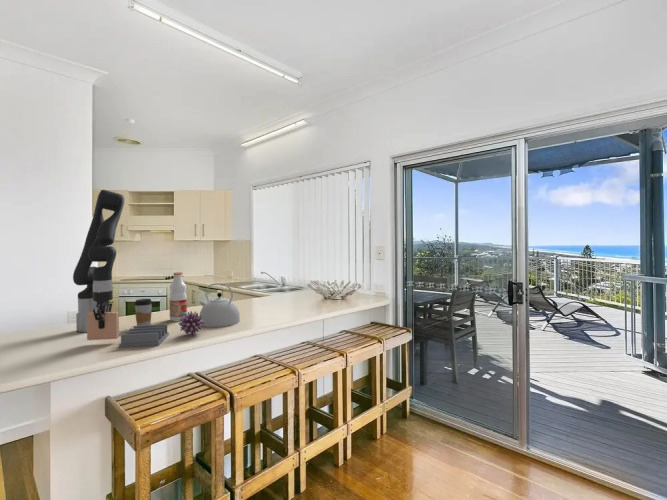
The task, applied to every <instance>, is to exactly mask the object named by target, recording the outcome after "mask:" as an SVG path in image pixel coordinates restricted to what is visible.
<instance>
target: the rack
mask: <svg viewBox="0 0 667 500" xmlns="http://www.w3.org/2000/svg"><path fill="white" fill-rule="evenodd" d="M124 333H125V334H123V333H122V334H120V343H119V344H118V345H119V346H118V348H119V349H121V348H136V347H137V348H138V347H139V348H140V347H156V346H160V345H161V344H162V343H163V342H164V341H165V340H166V338H168V337H169V336H170V335H169V334H170V333H169V331H168V324H151V325H145V326H137V325H133V328H129V331H125V332H124Z"/></svg>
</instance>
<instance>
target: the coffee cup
mask: <svg viewBox="0 0 667 500" xmlns="http://www.w3.org/2000/svg"><path fill="white" fill-rule="evenodd" d="M152 305H153V301H152V299H151V298H140V299H135V302H134V308H135V320H136V321H135V322H136V326H145V325H152V324H151V323H152V322H151V321H152V308H153V307H152Z"/></svg>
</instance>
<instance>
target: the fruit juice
mask: <svg viewBox="0 0 667 500" xmlns="http://www.w3.org/2000/svg"><path fill="white" fill-rule="evenodd" d="M172 275H173V279H172V282H171V284H170V285H169V292H170V294H169V320H170V321H172V322H182V321H181V320H180V319H182V318H181V316H185V315H184V314H185V313H186V314H188V298H187V296H188V295H187V292H186V291H187V284H186V283H185V282H184V280H183V272H180V271H179V272H173V274H172Z"/></svg>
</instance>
